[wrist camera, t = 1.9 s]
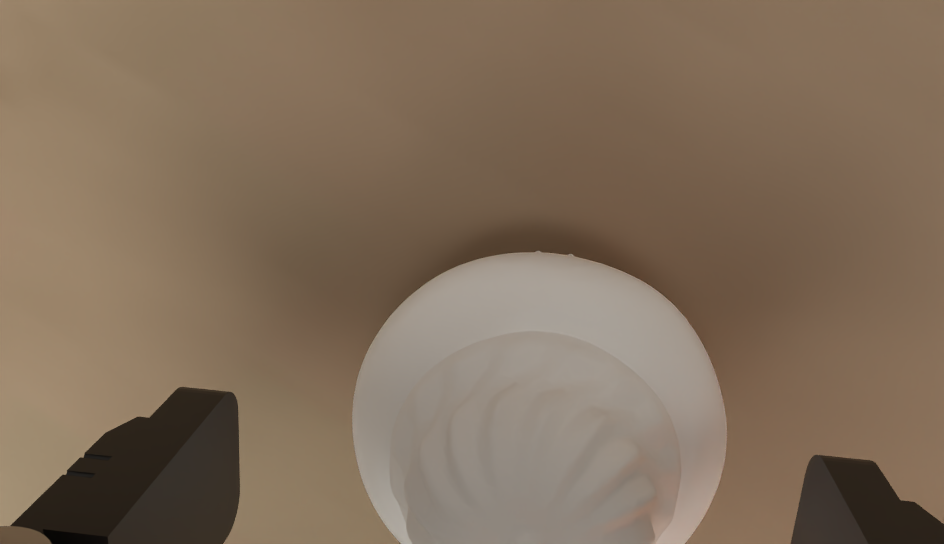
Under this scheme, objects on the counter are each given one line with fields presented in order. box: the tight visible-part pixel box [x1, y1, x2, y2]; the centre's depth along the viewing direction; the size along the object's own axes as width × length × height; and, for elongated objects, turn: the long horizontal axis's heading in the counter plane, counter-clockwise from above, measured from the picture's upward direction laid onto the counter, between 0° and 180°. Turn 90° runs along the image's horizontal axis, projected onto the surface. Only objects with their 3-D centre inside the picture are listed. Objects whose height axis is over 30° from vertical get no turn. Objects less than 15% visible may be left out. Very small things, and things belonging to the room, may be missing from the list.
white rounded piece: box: [352, 251, 727, 544], centre depth 14 cm, size 6×6×7 cm
